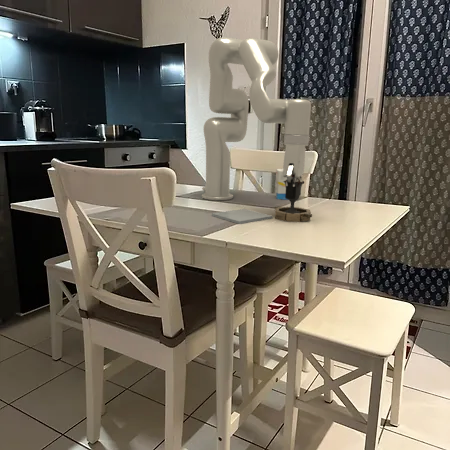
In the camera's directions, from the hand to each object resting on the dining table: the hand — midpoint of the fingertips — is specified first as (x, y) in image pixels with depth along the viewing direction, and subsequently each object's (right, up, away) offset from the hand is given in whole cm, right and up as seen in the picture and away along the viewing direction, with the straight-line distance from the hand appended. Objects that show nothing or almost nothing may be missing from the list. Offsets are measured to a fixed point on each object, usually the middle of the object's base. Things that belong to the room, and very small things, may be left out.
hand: (293, 196), depth 139 cm
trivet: (-16, -7, +1) cm, 18 cm away
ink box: (+3, +2, +39) cm, 39 cm away
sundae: (0, -5, +1) cm, 5 cm away
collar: (0, -7, +1) cm, 7 cm away
